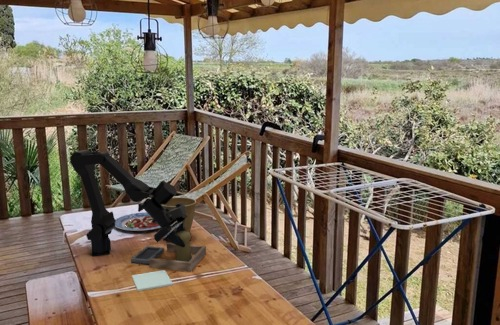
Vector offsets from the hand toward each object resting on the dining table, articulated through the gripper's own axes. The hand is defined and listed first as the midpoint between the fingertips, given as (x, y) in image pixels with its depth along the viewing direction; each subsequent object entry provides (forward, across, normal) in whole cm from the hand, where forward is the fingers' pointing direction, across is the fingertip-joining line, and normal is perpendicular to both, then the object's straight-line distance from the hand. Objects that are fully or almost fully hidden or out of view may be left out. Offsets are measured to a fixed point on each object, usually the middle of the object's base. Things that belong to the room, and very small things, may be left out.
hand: (187, 243), depth 160 cm
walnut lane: (+2, 0, +7) cm, 7 cm away
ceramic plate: (-19, +34, +29) cm, 49 cm away
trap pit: (-6, 0, +16) cm, 17 cm away
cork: (+4, 0, +6) cm, 7 cm away
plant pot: (-4, +21, +13) cm, 25 cm away
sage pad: (+1, -18, +9) cm, 20 cm away
